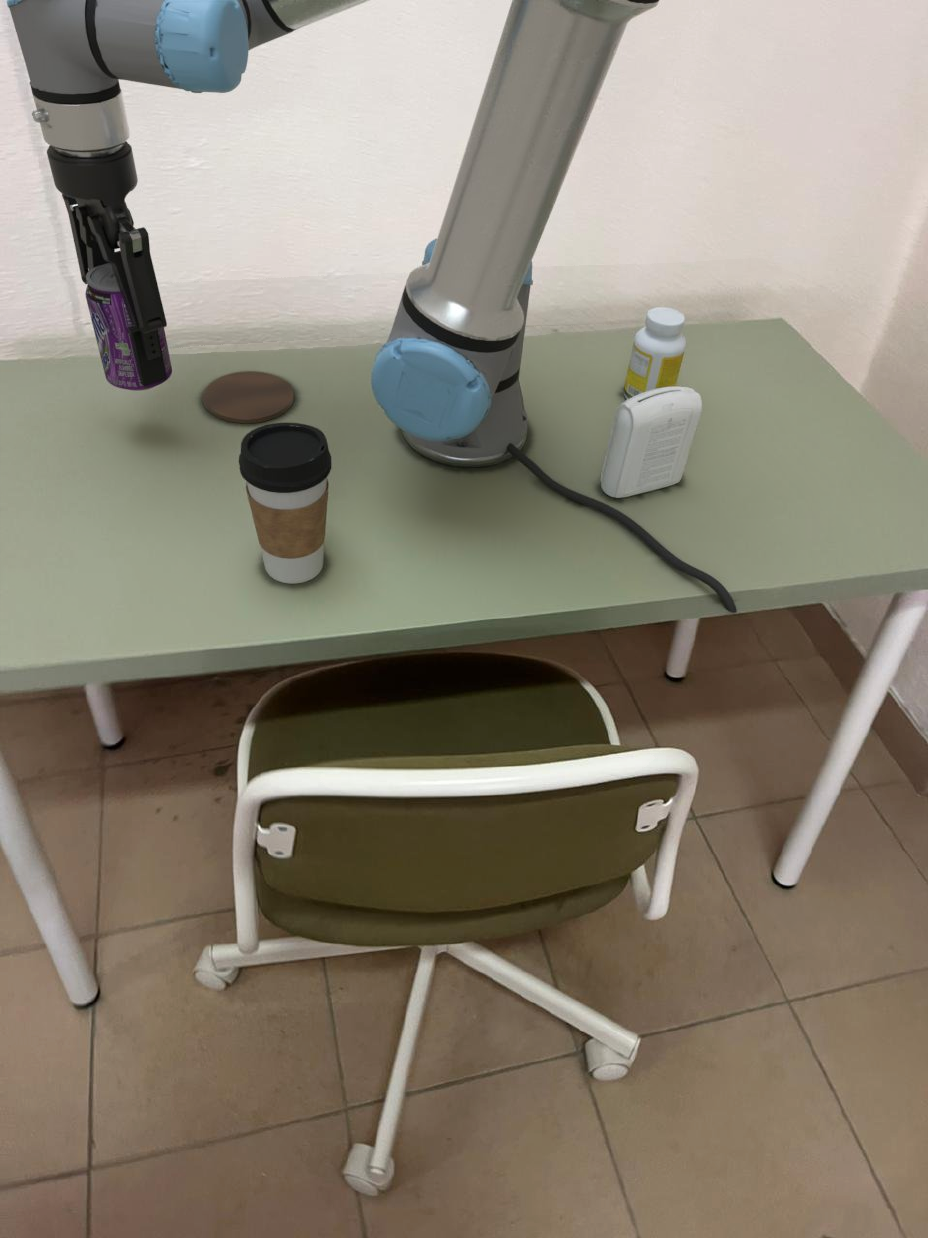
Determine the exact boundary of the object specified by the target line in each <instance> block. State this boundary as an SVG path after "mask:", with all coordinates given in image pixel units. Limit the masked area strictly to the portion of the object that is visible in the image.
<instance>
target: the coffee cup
mask: <svg viewBox="0 0 928 1238" xmlns="http://www.w3.org/2000/svg"><path fill="white" fill-rule="evenodd" d="M332 462H333V461H332V455H331V452H330V447H329V443H328V440H327V437H326V435H325V433H324V432H323V431H322V430H321V429H319V428H318V427H315V426H312V425H309V424H305V423H299V422H273V423H267V424H264V425H260V426H259V427H255V428H254V429H252V430H250V431H249V432H248V433H247V434H246V435H245V436H244V437H243V438H242V440H241V442H240V453H239V456H238V465H239V473H240V475H241V476H242V479H244V480H245V481H246V482H245V491H246V495H247V499H248V503H249V507H250V510H251V511H250V512H251V515H252V519H253V523H254V528H255V531H256V536H257V540H258V544H259V546H260V551H261V555H262V560H263V565H264V569H265V572H266V573H267V575H269V577H270V578H271V579H273V580H274V581H277V582H279V583H282V584H290V585H292V584H294V585H295V584H302V583H306V582H308V581H310V580H313V579H314V578H316V577H317V576H318V575H319V574H320V573H321V571H322V570H323V567H324V557H325V556H324V555H325V539H326V530H327V529H326V526H327V514H328V500H329V488H330V487H329V486H330V482H329V479H328V476H329V475H330V473H331V471H332V465H333V463H332Z"/></svg>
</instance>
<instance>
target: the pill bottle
mask: <svg viewBox="0 0 928 1238" xmlns="http://www.w3.org/2000/svg"><path fill="white" fill-rule="evenodd" d="M646 313H647V314H646V318H645V326H643V327H642V328H640V329H639V330H638V331H637V332H636V334H635V336H634V339H633V344H632V349H631V352H630V358H629V363H628V367H627V372H626V377H625V382H624V386H623V394H624V397H625V399H626V400H628V399H630V398H632V397H634V396H636V395H638V394H641V393H644V392H647V391H650V390H653V389H658V388H663V387H675V386H677V382H678V378H679V374H680V371H681V368H682V367H681V366H682V363H683V359H684V355H685V352H686V347H687V342H686V339H685V336H684V335H683V334H682V331H683V329H684V325H685V321H686V317H685V315H684V314H683V313H682V312H680V310H676V309H674V308H670V307H664V306H658V307H657V306H656V307H652V308H650V309H649V310H648V311H647V312H646Z"/></svg>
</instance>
